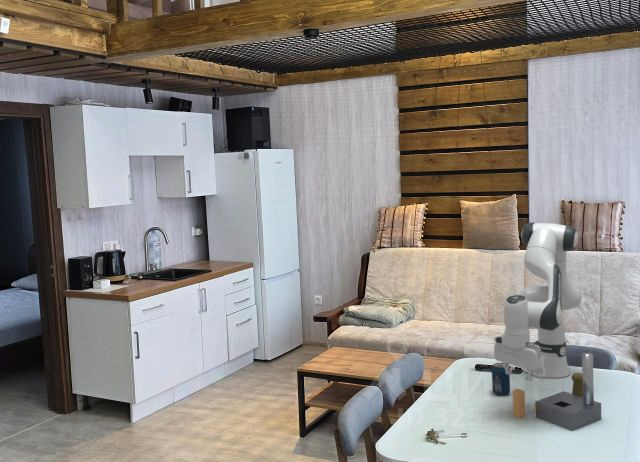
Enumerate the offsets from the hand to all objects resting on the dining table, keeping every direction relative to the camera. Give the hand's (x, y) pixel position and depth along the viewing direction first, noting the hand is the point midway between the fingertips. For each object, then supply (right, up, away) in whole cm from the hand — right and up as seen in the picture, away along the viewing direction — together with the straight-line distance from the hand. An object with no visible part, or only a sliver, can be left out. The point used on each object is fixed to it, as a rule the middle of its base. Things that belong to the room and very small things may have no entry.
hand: (518, 377), depth 239 cm
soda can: (+1, -13, +26) cm, 29 cm away
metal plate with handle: (+17, -14, -2) cm, 23 cm away
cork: (+28, -12, +13) cm, 33 cm away
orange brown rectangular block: (+1, -15, +2) cm, 15 cm away
